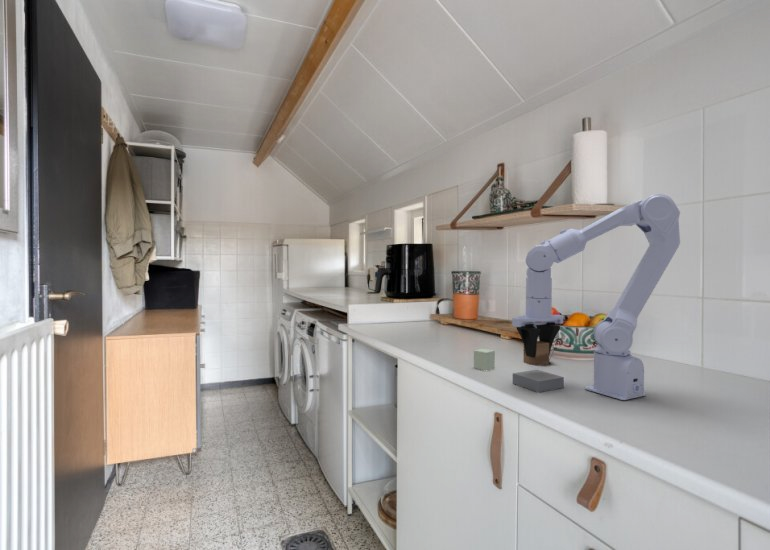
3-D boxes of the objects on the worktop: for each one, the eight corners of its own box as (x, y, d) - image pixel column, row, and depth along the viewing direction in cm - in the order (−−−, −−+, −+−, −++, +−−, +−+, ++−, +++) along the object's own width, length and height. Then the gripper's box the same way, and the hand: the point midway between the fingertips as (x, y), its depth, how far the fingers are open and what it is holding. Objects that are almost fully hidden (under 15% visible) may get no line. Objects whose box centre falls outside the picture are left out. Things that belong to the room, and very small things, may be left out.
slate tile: (563, 387, 99) (563, 377, 98) (538, 392, 95) (538, 381, 95) (536, 379, 106) (537, 369, 106) (512, 383, 102) (512, 373, 102)
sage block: (494, 368, 117) (494, 350, 117) (486, 371, 114) (486, 352, 114) (482, 366, 120) (482, 348, 120) (473, 368, 117) (473, 350, 117)
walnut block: (548, 364, 100) (549, 342, 100) (536, 365, 98) (536, 344, 98) (535, 360, 103) (535, 340, 103) (523, 362, 101) (523, 341, 101)
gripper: (547, 295, 107) (546, 349, 107) (503, 297, 100) (502, 355, 100) (571, 297, 100) (570, 355, 101) (525, 299, 94) (524, 361, 94)
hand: (537, 355), depth 100 cm, fingers closed on walnut block, 4 cm apart
